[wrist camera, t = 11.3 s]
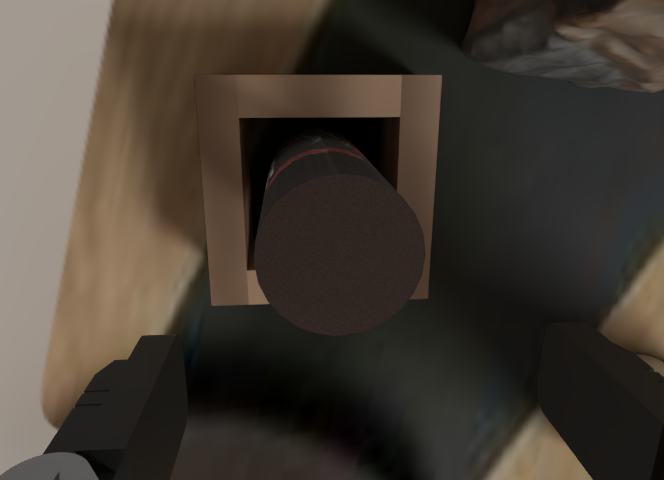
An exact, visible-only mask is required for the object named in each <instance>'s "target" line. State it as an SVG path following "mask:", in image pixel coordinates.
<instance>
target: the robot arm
mask: <svg viewBox="0 0 664 480" xmlns="http://www.w3.org/2000/svg"><path fill="white" fill-rule="evenodd" d="M537 394H538V400H539V404H540V407H541V409H542V411H543V413H544V414H545V416H546V417H547V418H548V420H549V421H550V422H551V424H552V425H553V427H554V428H555V429H556V431H557V432H558V433H559V435H560V436H561V437H562V439H563V440H564V441H565V443H566V444H567V445H568V447H569V448H570V449H571V451H572V452H573V453H574V455H575V456H576V457H577V459H578V460H579V461H580V463H581V464H582V465H583V467H584V468H585V469H586V471H587V472H588V474H589V475H590V476H591V478H592V479H593V480H664V362H662V361H661V360H659V359H656V358H654V357H652V356H647V355H642V354H634V353H632V352H630V351H628V350H626V349H624V348H622V347H620V346H618V345H616V344H614V343H612V342H610V341H609V340H608V339H607V338H606V337H604V336H603V335H602V334H601V333H600V332H598V331H597V330H596V329H595V328H594V327H592V326H591V325H590V324H589V323H587V322H559V323H550V324H549V325H548V326H547V327H546V330H545V333H544V340H543V347H542V354H541V361H540V368H539V375H538V382H537ZM186 421H187V390H186V380H185V370H184V359H183V349H182V342H181V338H180V336H179V335H178V334H177V335H147V336H142V337H141V338H140V339H139V341H138V343H137V345H136V346H135V348H134V350H133V352H132V353H131V355H130V357H129V358H128V360H114V361H113V362H112V363H110V364H109V365H107V366H106V367H105V368H103V369H102V370H101V371H99V372H98V373H97V374H95V376H94V377H93V379H92V380H91V382H90V383H89V385H88V386H87V388H86V389H85V391H84V394H82V395H81V397H80V398H79V400H78V401H77V403H76V405H75V408H73V409H72V411H71V412H70V414H69V415H68V417H67V418H66V420H65V421H64V423H63V424H62V426H61V427H60V429H59V430H58V432H57V434H56V435H55V436H54V438H53V440H52V441H51V443H50V444H49V446H48V447H47V449H46V450H45V452H44V453H43V455H40V456H37V457H33V458H31V459H28V460H26V461H24V462H21V463H19V464H17V465H15V466H14V467H12V468H10V469H9V470H7V471H6V472H4V473H3V474H2V475H0V480H170V477H171V474H172V470H173V467H174V464H175V461H176V457H177V454H178V451H179V447H180V444H181V441H182V437H183V434H184V431H185V427H186Z"/></svg>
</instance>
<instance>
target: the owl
mask: <svg viewBox="0 0 664 480" xmlns="http://www.w3.org/2000/svg"><path fill="white" fill-rule="evenodd" d="M461 49H462V51H463V53H464V54H465V56H466V57H467V58H469V59H470V60H472V61H474V62H476V63H478V64H480V65H483V66H485V67H487V68H490V69H493V70H497V71H501V72H505V73H512V74H519V75H533V76H538V77H543V78H551V79H557V80H568V81H569V82H570V83H572V84H573V85H575V86H579V87H584V88H596V87H608V88H614V89H622V90H632V91H647V92H651V93H654V92H657V91H660V90H663V89H664V0H474V7H473V13H472V16H471V20H470V24H469V27H468V30H467V33H466V36H465V38H464V40H463V41H462V43H461Z"/></svg>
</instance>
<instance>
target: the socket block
mask: <svg viewBox="0 0 664 480" xmlns="http://www.w3.org/2000/svg"><path fill="white" fill-rule="evenodd" d="M194 84H195V97H196V110H197V122H198V135H199V148H200V161H201V174H202V187H203V200H204V213H205V226H206V238H207V251H208V264H209V277H210V290H211V303H212V306H221V305H252V304H270V303H269V302H268V301H267V299H266V297H265V295H264V293H263V291H262V290H261V288H260V286H259V284H258V280H257V275H256V270H255V266H254V254H255V240H256V239H253V218H252V197H251V176H250V156H249V135H248V118H314V117H381V142H380V174H381V175H382V176H383V177H384V178H385V179H386V180H387V181H388V182H389V183H390V184H391V185H392V186H393V187H394V189H395V190H396V191H397V192H398V193H399V194H400V195H401V196H402V197H403V198H404V200H405V201H406V202H407V204H408V205H409V206H410V207H411V209H412V210H413V211H414V213H415V214H416V216H417V218H418V221H419V223H420V226H421V229H422V231H423V234H424V243H425V253H426V256H425V262H424V267H423V273H422V277H421V279H420V281H419V283H418V285H417V287H416V289H415V292H414V294H413V295H412V296H411V298H410V299H428V288H429V272H430V257H431V241H432V225H433V210H434V194H435V178H436V162H437V147H438V131H439V115H440V100H441V84H442V75H194Z"/></svg>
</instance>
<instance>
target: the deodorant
mask: <svg viewBox="0 0 664 480" xmlns="http://www.w3.org/2000/svg"><path fill="white" fill-rule="evenodd" d="M425 256H426V253H425V243H424V234H423V231H422V229H421V226H420V223H419V221H418V218H417V216H416V214H415V213H414V211H413V210H412V209H411V207H410V206H409V205H408V204H407V202H406V201H405V200H404V198H403V197H402V196H401V195H400V194H399V193H398V192H397V191H396V190H395V189H394V187H393V186H392V185H391V184H390V183H389V182H388V181H387V180H386V179H385V178H384V177H383V176H382V175H381V174H380V172H379V171H378V170H377V169H376V168H375V167H374V166H373V165H372V164H371V163H370V162H369V161H368V160H367V159H366V158H365V156H364V155H363V154H362V153H361V152H360V151H359V150H358V149H357V148H356V147H355V146H354V145H353V144H352V143H351V142H350V141H349V140H348V139H346V138H345V137H344V136H342V135H341V134H339V133H336V132H334V131H331V130H329V129H321V128H313V129H306V130H302V131H300V132H298V133H295V134H293V135H291V136H290V137H289V138H288V139H286V140H285V141H284V142H283V143H281V145H280V146H279V148H278V149H277V151H276V152H275V153H274V156H273V158H272V161H271V164H270V168H269V173H268V178H267V183H266V188H265V194H264V199H263V204H262V209H261V214H260V220H259V225H258V230H257V235H256V240H255V254H254V266H255V270H256V275H257V280H258V284H259V286H260V288H261V290H262V291H263V293H264V295H265V297H266V299H267V301H268V302H269V303H270V304H271V306H272V307H273V308H274V309H275V310H276V311H277V312H278V313H279V314H280V315H281V316H282V317H283V318H285V319H287V320H288V321H290V322H291V323H293V324H295V325H296V326H298V327H299V328H302V329H305V330H308V331H311V332H314V333H318V334H322V335H338V336H343V335H349V334H355V333H360V332H364V331H367V330H369V329H371V328H374V327H376V326H378V325H381V324H383V323H384V322H385V321H387V320H388V319H389V318H391V317H392V316H393V315H395V314H396V313H397V312H399V311H400V310H401V309H402V307H403V306H404V305H405V304H406V303H407V301H408V300H409V299H410V298H411V296H412V295H413V294H414V292H415V289H416V287H417V285H418V283H419V281H420V279H421V277H422V273H423V267H424V262H425Z"/></svg>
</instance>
